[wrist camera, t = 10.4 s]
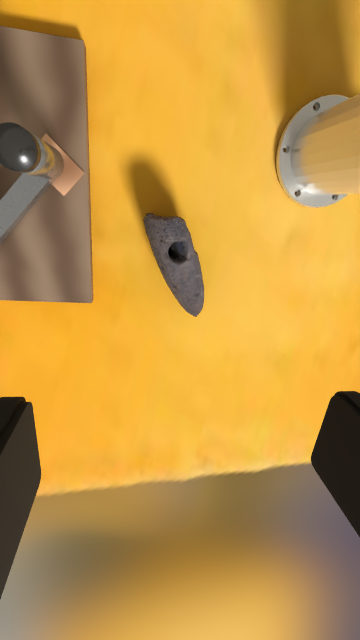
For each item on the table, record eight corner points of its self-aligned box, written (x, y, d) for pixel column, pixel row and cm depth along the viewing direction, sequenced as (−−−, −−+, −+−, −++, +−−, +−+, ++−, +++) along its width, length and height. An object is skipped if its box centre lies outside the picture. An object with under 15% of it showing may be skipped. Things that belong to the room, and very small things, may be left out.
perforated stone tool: (208, 302, 44) (220, 319, 37) (175, 314, 44) (182, 333, 37) (177, 200, 38) (185, 200, 31) (139, 214, 37) (140, 217, 31)
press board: (85, 48, 30) (82, 38, 29) (93, 299, 41) (91, 303, 39) (-122, 12, 27) (-140, -1, 26) (-57, 294, 38) (-66, 298, 36)
